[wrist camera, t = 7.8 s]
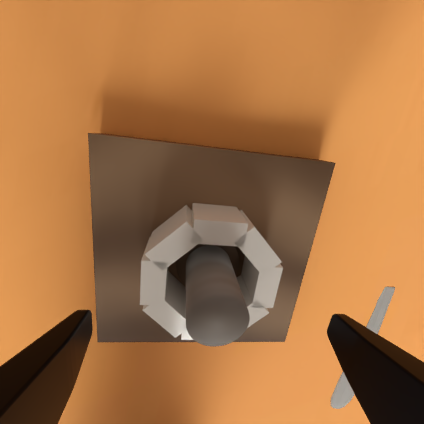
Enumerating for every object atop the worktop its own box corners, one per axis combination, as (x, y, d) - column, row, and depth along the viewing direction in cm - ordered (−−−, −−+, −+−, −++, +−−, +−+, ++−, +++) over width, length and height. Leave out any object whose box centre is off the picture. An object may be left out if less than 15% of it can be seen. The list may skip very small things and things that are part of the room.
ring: (252, 307, 14) (264, 339, 12) (146, 304, 13) (138, 339, 11) (273, 210, 12) (293, 227, 10) (151, 199, 11) (142, 215, 9)
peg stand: (276, 324, 17) (322, 420, 11) (105, 322, 15) (58, 434, 9) (319, 160, 13) (420, 178, 7) (100, 133, 11) (16, 131, 6)
